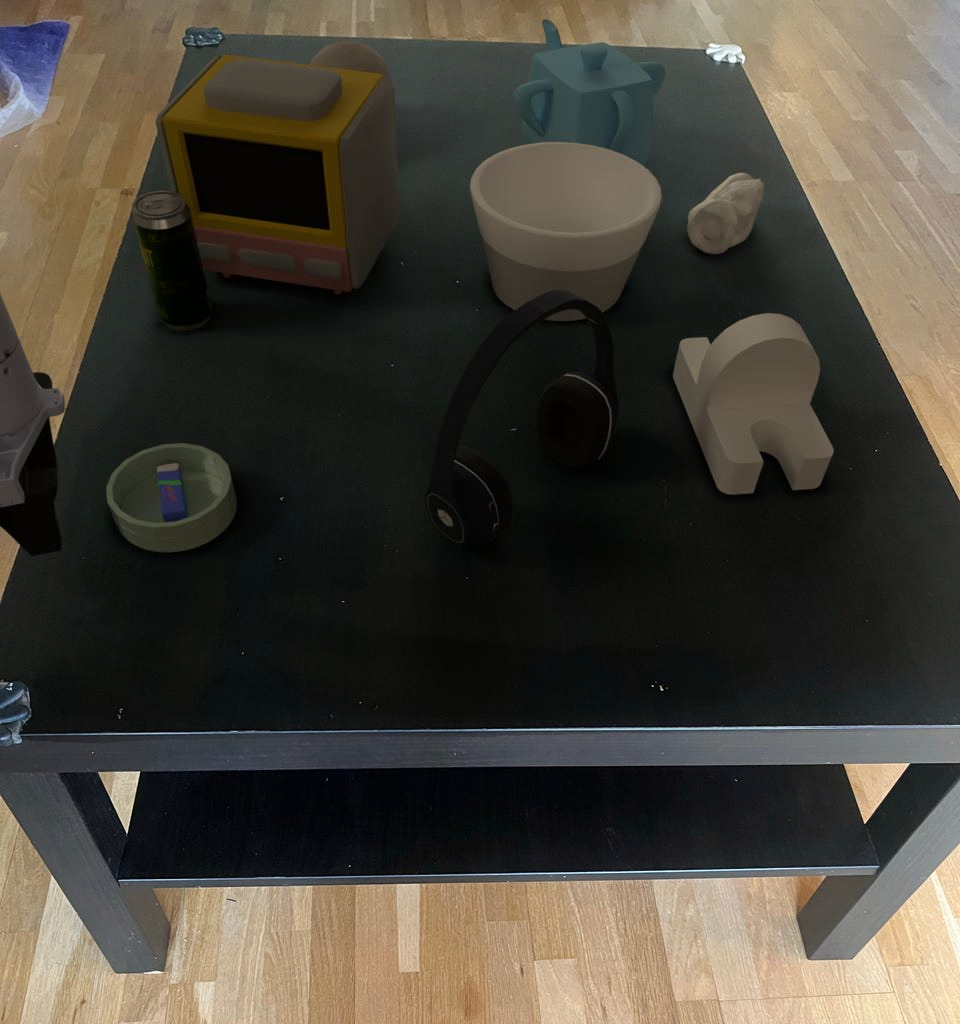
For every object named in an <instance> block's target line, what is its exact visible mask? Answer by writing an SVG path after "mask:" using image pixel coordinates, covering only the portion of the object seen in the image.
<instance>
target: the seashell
mask: <svg viewBox="0 0 960 1024" xmlns="http://www.w3.org/2000/svg"><path fill="white" fill-rule="evenodd" d="M308 65H314V66H322V67H330V68H338V69H346V70H354V71H362V72H371V73H379V74H382V75H383V76H385V75H386V76H387V77H388V78H389V79H390V80H391V82H392V83H393V78H392V74H391V71H390V69H389V65H388V64H387V62H386V60H384V58H383V56H382V55H381V54H379V53H378V52H377V51H376V50H375V49H373V48H372V47H370V46H369V45H367V44H365V43H362V42H360V41H354V40H342V41H336V42H333V43H330V44H328V45H326V46H324V47H323V48H322V49H321V50H320V51H319V52H318V53H317V54H315V56H314V57H313V58H312V59H311V61H310V63H309V64H308Z"/></svg>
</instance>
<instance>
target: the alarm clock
mask: <svg viewBox="0 0 960 1024" xmlns="http://www.w3.org/2000/svg"><path fill="white" fill-rule="evenodd" d="M395 92H396V90H395V86H394V84H393V81H392V82H391V80H390V79H389V78H388V77H387V76H386V75H385V76H383V75H382V74H379V73H371V72H362V71H354V70H346V69H338V68H330V67H322V66H314V65H309V64H305V63H299V62H297V63H296V62H289V61H281V60H274V59H273V60H272V59H267V58H266V59H264V58H258V57H257V58H256V57H249V56H241V55H232V54H226V53H224V54H223V55H221V54H218V55H216V56H214V57H213V58H211V60H210V61H209V62H208V63H207V64H206V65H205V66H204V67H203V68H202V69H201V70H200V71H199V72H198V73H197V74H196V75H195V76H194V77H193V78H192V79H191V80H190V81H189V82H188V83H187V84H186V85H185V86H184V87H183V88H182V89H181V90H180V91H179V92H178V93H177V94H176V96H175V97H173V98H172V99H171V100H170V102H168V103H167V104H166V105H165V107H164V108H163V109H162V110H161V111H160V112H158V114H157V116H156V119H155V122H154V123H155V126H156V130H157V136H158V138H159V139H158V140H159V143H160V148H161V152H162V156H163V157H162V158H163V161H164V166H165V171H166V174H167V178H168V183H169V186H170V191H171V192H176V193H178V194H180V195H182V196H183V197H184V198H185V200H186V204H187V206H188V207H189V208H190V211H191V215H192V220H193V224H194V229H195V233H196V238H197V242H198V247H199V251H200V256H201V260H202V265H203V269H204V271H208V272H215V273H222V275H223V277H224V278H225V279H227V278H231V277H232V275H235V276H241V277H247V278H254V279H260V280H268V281H272V282H273V281H274V282H281V283H288V284H293V285H299V286H306V287H314V288H320V289H326V290H333V294H334V295H342V293H343V292H346V293H350V292H351V291H352V290H353V289H354V290H357V289H360V288H362V285H363V284H364V283H365V281H366V279H367V277H368V276H369V274H370V272H371V270H372V268H373V267H374V265H375V263H376V261H377V259H378V257H379V255H380V254H381V252H382V250H383V248H384V246H385V244H386V243H387V240H388V239H389V237H390V236H391V234H392V232H393V230H394V229H395V226H396V224H397V223H398V221H399V219H400V217H401V207H400V186H399V185H400V184H399V161H398V159H399V158H398V139H397V137H398V136H397V114H396V112H397V111H396V93H395Z"/></svg>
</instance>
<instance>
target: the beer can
mask: <svg viewBox="0 0 960 1024" xmlns="http://www.w3.org/2000/svg"><path fill="white" fill-rule="evenodd" d="M131 208H132V215H131V218H132V222H133V226H134V229H135V234H136V237H137V239H138V244H139V247H140V252H141V256H142V259H143V262H144V266H145V270H146V273H147V277H148V280H149V284H150V285H149V286H150V288H151V292H152V296H153V300H154V302H155V307H156V310H157V313H158V317H159V319H160V320H161V321H162V323H164V325H165V326H166V327H167V328H169V329H171V330H174V331H178V332H188V331H189V332H190V331H194V330H197V329H200V328H202V327H203V326H205V325H207V324H208V323H209V321H210V320H211V316H212V312H213V306H212V300H211V297H210V292H209V288H208V283H207V278H206V275H205V270H204V269H203V265H202V260H201V256H200V251H199V247H198V242H197V238H196V233H195V229H194V224H193V220H192V215H191V211H190V208H189V207H188V206H187V204H186V200H185V198H184V197H183V196H182V195H180V194H178V193H176V192H172V191H171V190H157V191H156V190H153V191H150V192H146V193H143V194H142V195H139V196H138V197H136V198H135V199H134V200H133V202H132V204H131Z"/></svg>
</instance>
